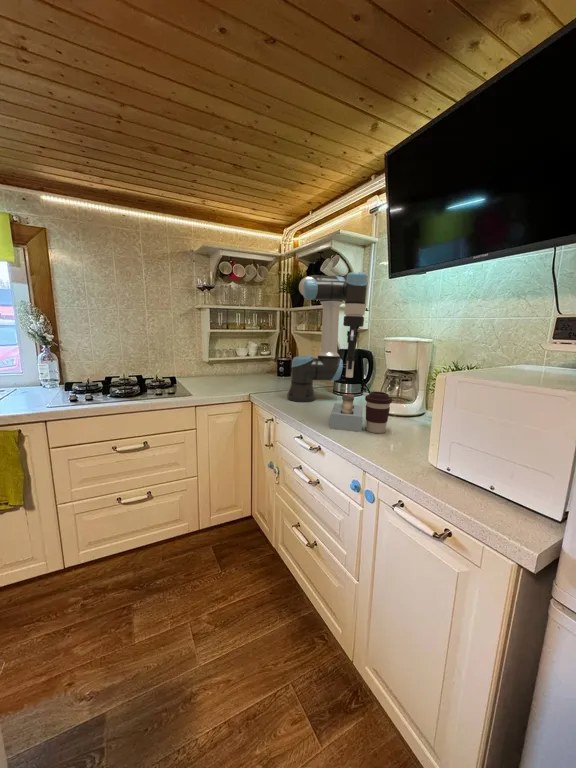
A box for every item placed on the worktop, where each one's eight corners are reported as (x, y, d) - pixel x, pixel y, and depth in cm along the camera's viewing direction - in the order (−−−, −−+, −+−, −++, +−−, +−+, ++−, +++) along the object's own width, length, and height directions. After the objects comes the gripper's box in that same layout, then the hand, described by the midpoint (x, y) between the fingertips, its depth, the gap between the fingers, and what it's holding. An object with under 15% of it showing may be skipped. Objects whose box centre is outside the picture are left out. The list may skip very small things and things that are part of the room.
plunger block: (333, 416, 143) (334, 403, 142) (361, 418, 140) (362, 405, 139) (329, 428, 126) (330, 413, 124) (361, 431, 123) (362, 416, 122)
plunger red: (342, 414, 140) (343, 394, 138) (352, 415, 139) (354, 394, 137) (341, 416, 135) (342, 396, 133) (352, 418, 134) (354, 397, 132)
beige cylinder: (341, 416, 131) (342, 395, 129) (352, 417, 130) (354, 396, 128) (340, 420, 126) (341, 397, 125) (352, 421, 125) (353, 398, 124)
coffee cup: (393, 430, 125) (396, 393, 123) (381, 436, 118) (385, 397, 115) (370, 424, 132) (373, 389, 129) (357, 430, 125) (360, 392, 122)
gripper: (344, 315, 127) (340, 373, 132) (342, 315, 115) (338, 379, 120) (364, 316, 126) (359, 375, 131) (364, 315, 113) (358, 380, 118)
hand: (349, 377), depth 125 cm, fingers closed
